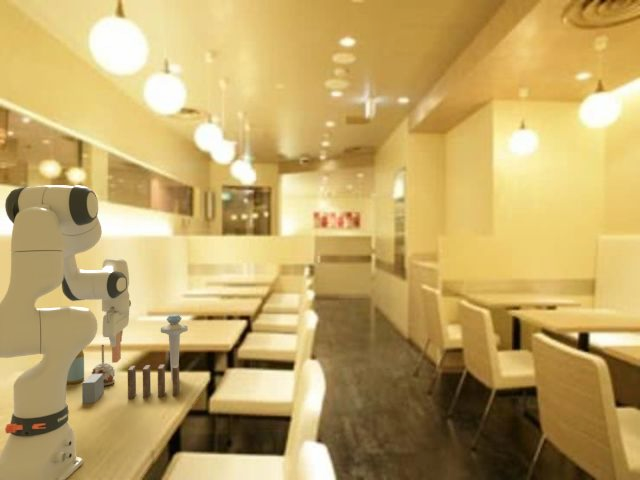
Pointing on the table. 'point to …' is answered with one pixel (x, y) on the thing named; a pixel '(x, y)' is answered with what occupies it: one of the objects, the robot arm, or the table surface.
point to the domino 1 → (117, 349)
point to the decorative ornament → (105, 370)
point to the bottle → (76, 370)
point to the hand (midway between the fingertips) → (116, 344)
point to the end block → (92, 388)
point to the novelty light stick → (174, 337)
